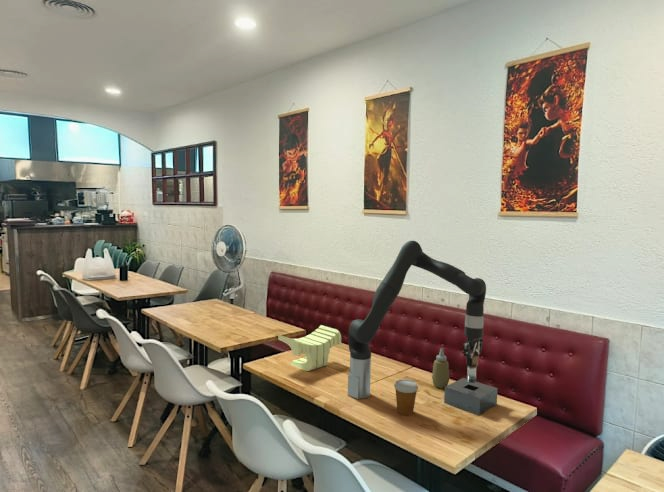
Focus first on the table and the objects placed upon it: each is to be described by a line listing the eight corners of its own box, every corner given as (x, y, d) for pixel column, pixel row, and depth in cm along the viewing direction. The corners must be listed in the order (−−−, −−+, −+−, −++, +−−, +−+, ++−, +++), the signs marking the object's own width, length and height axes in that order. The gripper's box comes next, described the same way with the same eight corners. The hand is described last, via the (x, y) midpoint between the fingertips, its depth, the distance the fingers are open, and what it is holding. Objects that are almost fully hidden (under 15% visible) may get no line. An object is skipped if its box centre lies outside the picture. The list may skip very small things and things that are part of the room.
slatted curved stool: (297, 376, 212) (298, 341, 211) (277, 368, 224) (278, 334, 222) (340, 363, 233) (341, 330, 232) (320, 356, 245) (321, 325, 243)
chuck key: (473, 384, 183) (475, 358, 182) (463, 380, 186) (464, 355, 185) (479, 381, 186) (480, 356, 185) (468, 378, 190) (470, 353, 189)
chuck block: (479, 415, 175) (480, 398, 175) (444, 402, 187) (444, 386, 186) (496, 404, 187) (497, 388, 186) (462, 392, 198) (463, 377, 197)
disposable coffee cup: (411, 419, 170) (413, 389, 170) (389, 413, 175) (390, 384, 175) (420, 410, 178) (421, 382, 178) (399, 404, 183) (400, 377, 183)
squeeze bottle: (452, 386, 205) (453, 349, 204) (443, 391, 199) (445, 352, 198) (436, 381, 211) (438, 345, 209) (428, 386, 205) (429, 348, 204)
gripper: (474, 330, 177) (472, 370, 178) (490, 324, 187) (488, 363, 188) (457, 326, 182) (455, 366, 183) (473, 321, 192) (472, 358, 193)
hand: (472, 364), depth 186 cm, fingers closed on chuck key, 4 cm apart
